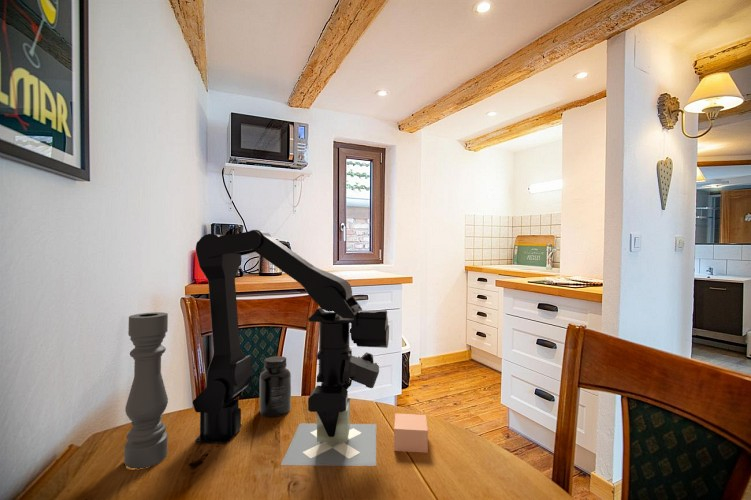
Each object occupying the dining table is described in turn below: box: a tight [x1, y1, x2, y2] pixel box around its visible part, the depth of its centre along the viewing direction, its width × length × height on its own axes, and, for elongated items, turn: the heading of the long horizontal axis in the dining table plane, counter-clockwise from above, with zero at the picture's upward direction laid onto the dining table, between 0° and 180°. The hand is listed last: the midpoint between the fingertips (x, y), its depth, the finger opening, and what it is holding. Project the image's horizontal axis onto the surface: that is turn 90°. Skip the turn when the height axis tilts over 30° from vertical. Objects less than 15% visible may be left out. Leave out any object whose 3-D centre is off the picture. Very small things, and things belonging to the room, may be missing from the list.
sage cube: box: [316, 398, 351, 442], centre depth 63 cm, size 6×6×6 cm
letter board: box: [280, 422, 377, 467], centre depth 63 cm, size 16×14×1 cm
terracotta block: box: [393, 413, 429, 454], centre depth 63 cm, size 6×6×4 cm
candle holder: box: [123, 312, 169, 469], centre depth 59 cm, size 6×6×25 cm
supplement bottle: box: [259, 355, 292, 418], centre depth 76 cm, size 7×7×12 cm
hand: (333, 428), depth 63 cm, fingers closed on sage cube, 5 cm apart
